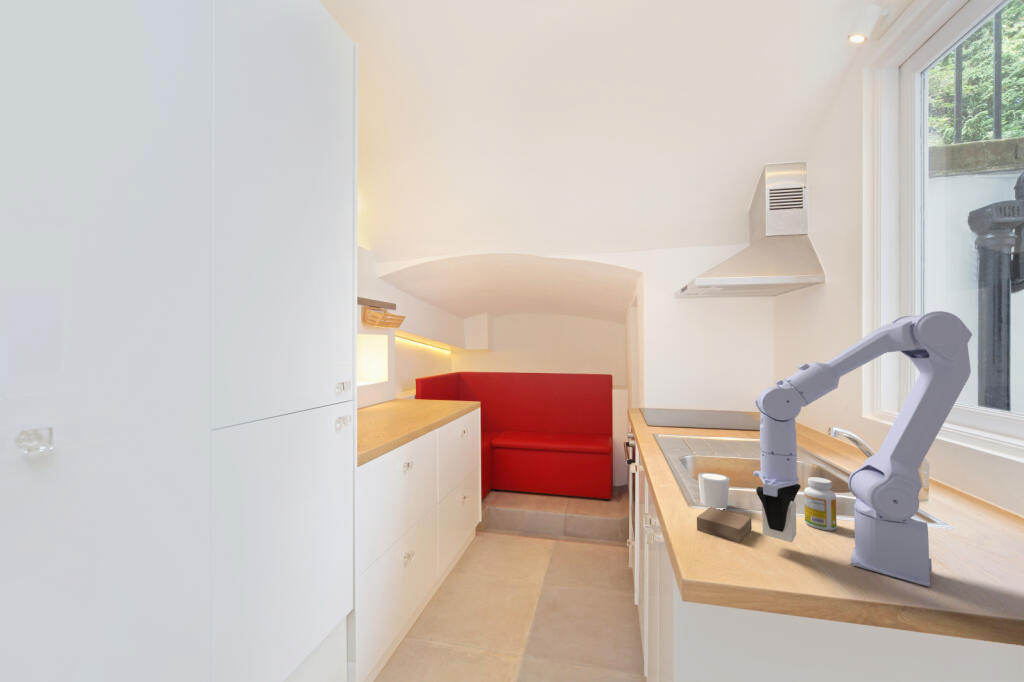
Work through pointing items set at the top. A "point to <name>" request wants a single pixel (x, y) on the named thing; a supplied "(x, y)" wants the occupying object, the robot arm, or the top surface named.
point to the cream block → (790, 525)
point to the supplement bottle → (820, 504)
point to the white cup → (713, 489)
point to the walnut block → (724, 524)
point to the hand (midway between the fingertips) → (779, 525)
